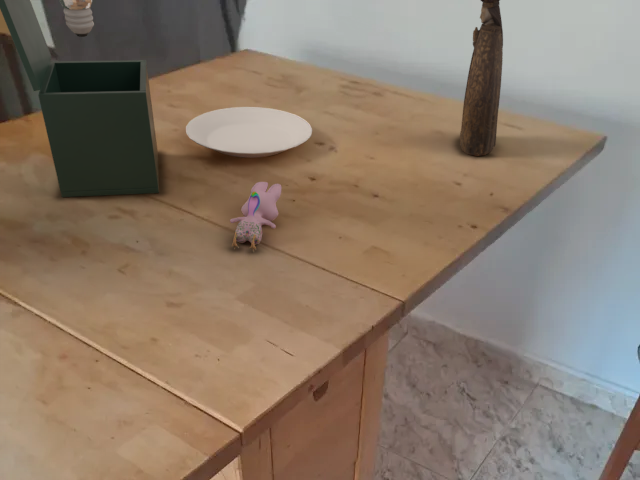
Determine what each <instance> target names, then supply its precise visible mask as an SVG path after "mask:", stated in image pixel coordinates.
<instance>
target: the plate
mask: <svg viewBox="0 0 640 480" xmlns="http://www.w3.org/2000/svg"><path fill="white" fill-rule="evenodd" d="M185 133H186V135H187V137H188V138H189V139H190V140H191V141H192V142H194V143H195V144H197V145H199V146H202V147H204V148H207V149H210V150H212V151H214V152H215V151H216V152H218V153H221V154H222V155H227V156H230V157H236V158H237V157H238V158H251V159H253V158H265V157H270V156H274V155H279V154H281V153H283V152H286V151H287V150H290V149H294V148H297V147H299V146H301V145H302V144H304V143H306V142H307V141H308V140H309V139H311V137H312V134H313V128H312V126H311V124H310V123H309V122H308V121H307V120H306V119H304V118H303V117H301V116H299V115H298V114H295V113H291V112H289V111H286V110H280V109H276V108H269V107H261V106H236V107H225V108H218V109H215V110H211V111H210V110H209V111H207V112H204V113H202V114H199V115H197V116H195V117H194V118H192V119H191V120H189V121H188V123H187V124H186V126H185Z"/></svg>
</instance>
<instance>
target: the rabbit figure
mask: <svg viewBox="0 0 640 480" xmlns="http://www.w3.org/2000/svg"><path fill="white" fill-rule="evenodd" d="M268 186H269V182H267V181H258V182H255V184H254V185H252V187H251V189H250V195H249V197H248V199H247V200H246V202H245V203H243V205H242V206H241V208H240V209H241V213H242V215H243V216H238V217H233V218H231V219H229V223H230V224H235V223H238V224H237V225H236V228H235V231H234V236H233V238H232V239H233V240H232V243H231V247H234V248H233V250H236V247H237V248H239V246H238V244H237V242H238V243H239V244H244V243H246V242H249V243H250V244H251V245H250V246H249V248H248V249H249V250H250V249H252V252H253V253H255V250H257V245H259V244H260V243H261V241H262V240H263V226H264V225H266V226H269V227H271V229H276V228H277V226H276V224H275V223H274V222H272V221H274V220H275V219H277V217H278V216H279V211H278V210H279V209H278V207H277V202H278V200H279V199H280V197H281V195H282V187H283V186H282V185H281V184H280V183H274V184H272V185H271V186H270V187H269V189H268Z"/></svg>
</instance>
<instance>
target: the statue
mask: <svg viewBox="0 0 640 480" xmlns="http://www.w3.org/2000/svg"><path fill="white" fill-rule="evenodd" d="M500 1H501V0H480V2H482V4H481V10H480V14H479V19H480V21H481V25H480V28H478V27H477V26H475V27H474V30H473V31H472V46H473V50H472V53H471V54H472V55H471V59H470V64H469V69H468V74H467V80H466V86H465V92H464V97H463V98H464V99H463V106H462V115H461V116H462V117H461V127H460V132H459V133H460V134H459V147H460V148H461V152H464V153H465V154H466V155H469V156H477V157H480V156H486V155H487V154H490V153H491V152H492V150H493V149H494V147H495V146H496V142H497V132H498V131H497V130H498V118H499V117H498V116H499V108H500V99H501V88H502V76H503V75H502V74H503V61H504V60H503V56H504V55H503V51H504V49H503V46H504V32H503V31H504V30H503V22H502V14H501V7H500Z"/></svg>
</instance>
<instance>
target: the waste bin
mask: <svg viewBox="0 0 640 480" xmlns="http://www.w3.org/2000/svg"><path fill="white" fill-rule="evenodd" d="M148 73H149V72H148V64H147V59H134V60H133V59H131V60H130V59H128V60H125V59H124V60H123V59H122V60H121V59H119V60H58V61H55V60H53V61H52V60H50V63H49V66H48V69H47V71H46V74H45V77H44V80H43V83H42V86H41V89H40V90H38V91H39V92H38V100H39V105H40V110H41V113H42V118H43V123H44V126H45V130H46V136H47V139H48V144H49V149H50V153H51V156H52V162H53V166H54V169H55V175H56V179H57V183H58V187H59V191H60V196H61V198H74V197H75V198H76V197H97V196H98V197H99V196H100V197H101V196H119V195H120V196H121V195H124V196H125V195H143V194H145V195H146V194H147V195H148V194H159V193H160V185H159V183H160V181H159V179H160V178H159V152H158V144H157V135H156V126H155V120H154V112H153V103H152V95H151V88H150V80H149V74H148Z"/></svg>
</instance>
